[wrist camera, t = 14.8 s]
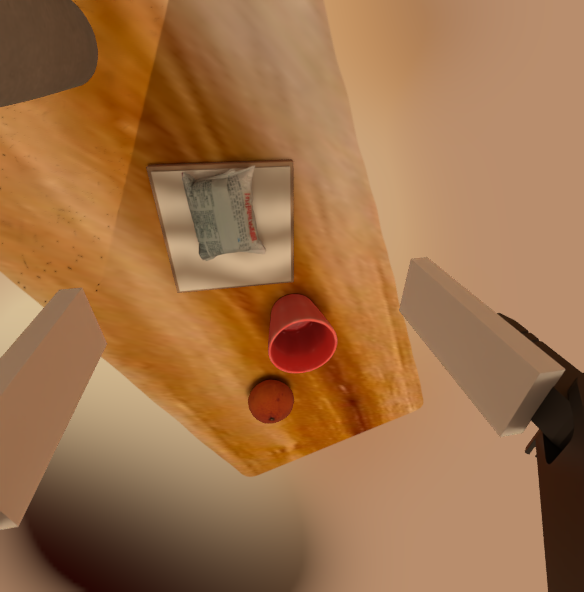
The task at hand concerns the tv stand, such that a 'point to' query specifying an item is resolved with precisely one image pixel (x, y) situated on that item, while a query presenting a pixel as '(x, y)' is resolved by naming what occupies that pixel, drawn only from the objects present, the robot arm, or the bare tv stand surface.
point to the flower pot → (299, 335)
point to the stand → (232, 266)
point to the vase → (43, 49)
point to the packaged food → (223, 213)
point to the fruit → (271, 401)
